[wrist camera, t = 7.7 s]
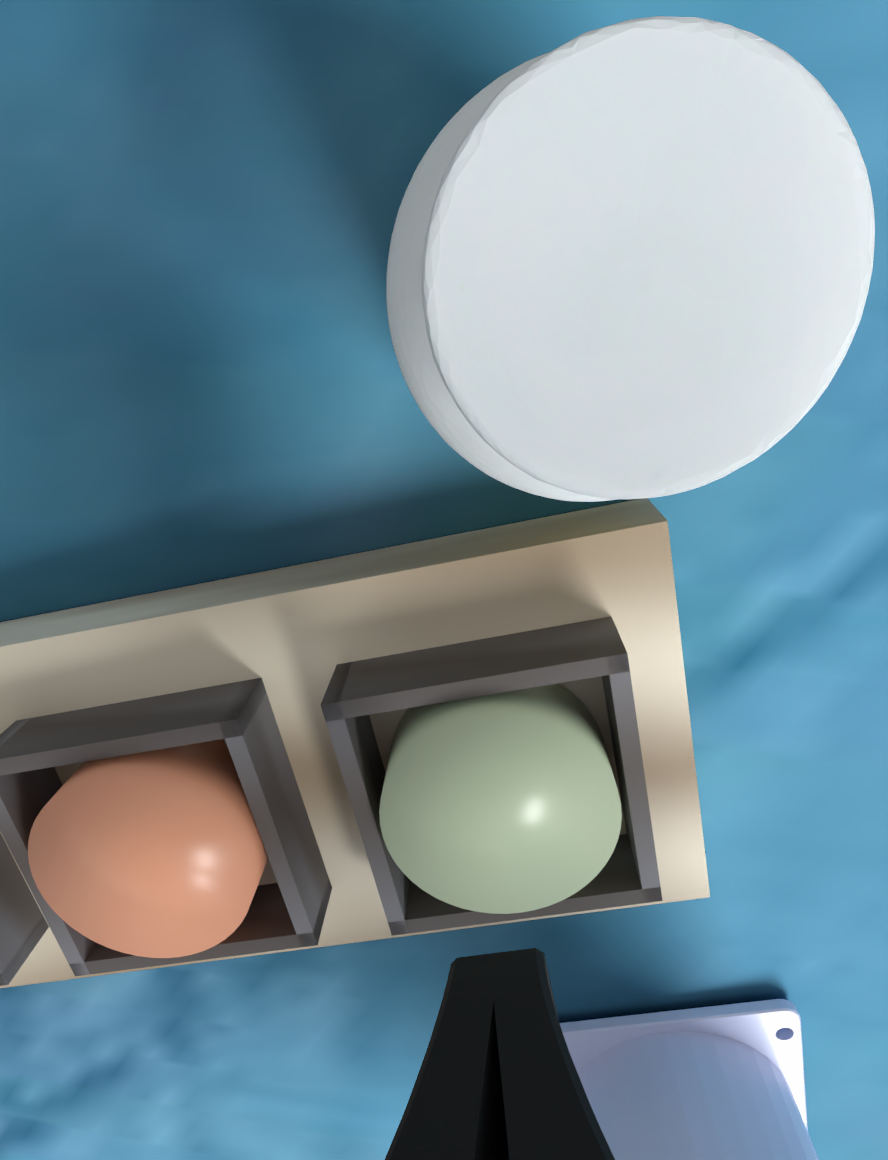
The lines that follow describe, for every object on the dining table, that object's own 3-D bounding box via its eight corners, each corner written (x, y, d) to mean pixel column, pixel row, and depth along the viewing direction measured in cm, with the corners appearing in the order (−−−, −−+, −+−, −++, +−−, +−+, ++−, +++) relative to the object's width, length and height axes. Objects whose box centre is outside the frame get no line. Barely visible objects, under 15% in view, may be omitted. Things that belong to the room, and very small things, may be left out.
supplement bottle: (668, 425, 16) (906, 567, 7) (430, 435, 16) (371, 584, 7) (684, 150, 14) (1032, -128, 5) (414, 168, 15) (310, -65, 6)
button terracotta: (301, 878, 18) (281, 944, 16) (119, 904, 19) (79, 969, 17) (241, 709, 17) (211, 759, 15) (43, 743, 17) (-10, 795, 15)
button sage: (619, 834, 17) (636, 897, 15) (417, 862, 18) (409, 927, 16) (588, 649, 16) (604, 695, 14) (367, 687, 16) (352, 736, 14)
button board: (688, 842, 20) (733, 956, 16) (-111, 951, 23) (-220, 1069, 19) (646, 497, 17) (691, 548, 13) (-283, 676, 20) (-452, 757, 16)
